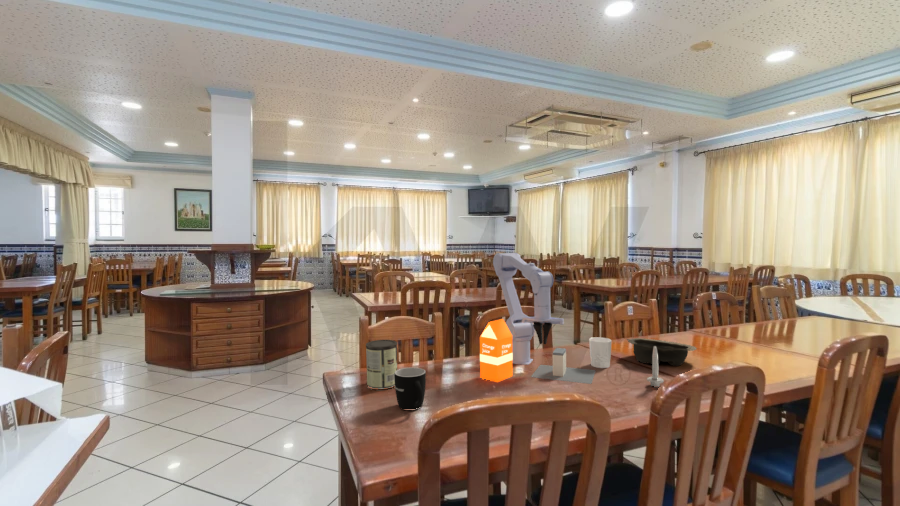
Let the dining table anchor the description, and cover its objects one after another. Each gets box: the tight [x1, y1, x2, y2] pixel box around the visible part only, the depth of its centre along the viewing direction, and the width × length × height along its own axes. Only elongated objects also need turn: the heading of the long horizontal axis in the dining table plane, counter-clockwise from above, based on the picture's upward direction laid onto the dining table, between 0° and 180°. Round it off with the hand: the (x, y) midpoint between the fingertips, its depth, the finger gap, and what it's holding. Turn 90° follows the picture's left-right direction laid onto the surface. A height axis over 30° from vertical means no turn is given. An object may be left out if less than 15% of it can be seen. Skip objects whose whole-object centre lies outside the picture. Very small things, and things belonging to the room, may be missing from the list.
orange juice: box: [479, 318, 514, 383], centre depth 150 cm, size 8×9×20 cm
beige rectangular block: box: [552, 347, 567, 376], centre depth 153 cm, size 4×7×8 cm, turn 157°
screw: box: [646, 346, 665, 388], centre depth 139 cm, size 13×5×5 cm
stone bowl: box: [626, 336, 698, 367], centre depth 168 cm, size 25×25×9 cm
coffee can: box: [365, 339, 398, 389], centre depth 144 cm, size 10×10×14 cm
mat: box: [530, 364, 597, 385], centre depth 153 cm, size 20×16×1 cm
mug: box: [394, 366, 427, 410], centre depth 123 cm, size 12×9×10 cm
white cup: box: [588, 336, 612, 369], centre depth 162 cm, size 8×8×10 cm
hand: (543, 343), depth 155 cm, fingers closed
